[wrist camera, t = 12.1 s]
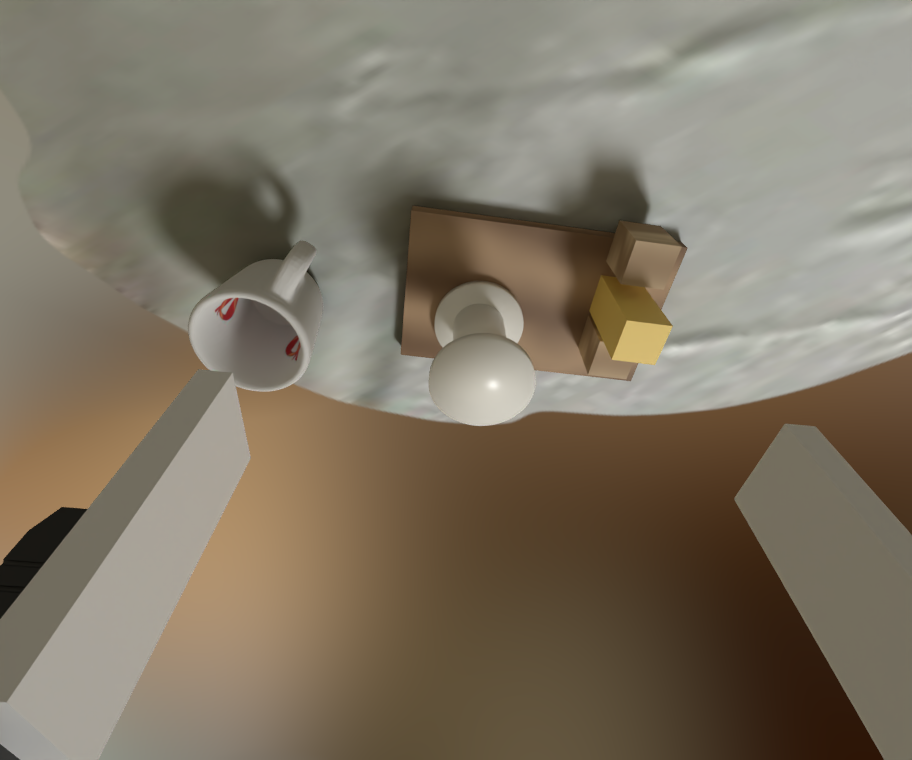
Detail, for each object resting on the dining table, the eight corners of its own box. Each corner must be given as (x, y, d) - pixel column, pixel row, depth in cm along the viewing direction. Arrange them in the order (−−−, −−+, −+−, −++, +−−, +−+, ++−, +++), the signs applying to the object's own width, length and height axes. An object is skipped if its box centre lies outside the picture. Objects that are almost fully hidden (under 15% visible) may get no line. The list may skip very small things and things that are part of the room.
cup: (272, 191, 34) (226, 228, 27) (370, 255, 36) (350, 303, 30) (219, 303, 39) (170, 356, 32) (308, 351, 42) (280, 410, 35)
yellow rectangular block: (600, 275, 36) (627, 320, 30) (639, 280, 36) (672, 326, 30) (589, 310, 38) (611, 359, 32) (626, 315, 38) (655, 364, 32)
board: (414, 187, 33) (407, 209, 29) (688, 225, 35) (719, 251, 30) (402, 346, 41) (395, 382, 37) (626, 373, 42) (644, 410, 38)
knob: (439, 275, 36) (434, 333, 29) (531, 286, 36) (547, 346, 29) (430, 353, 40) (424, 420, 33) (513, 362, 40) (523, 430, 33)
